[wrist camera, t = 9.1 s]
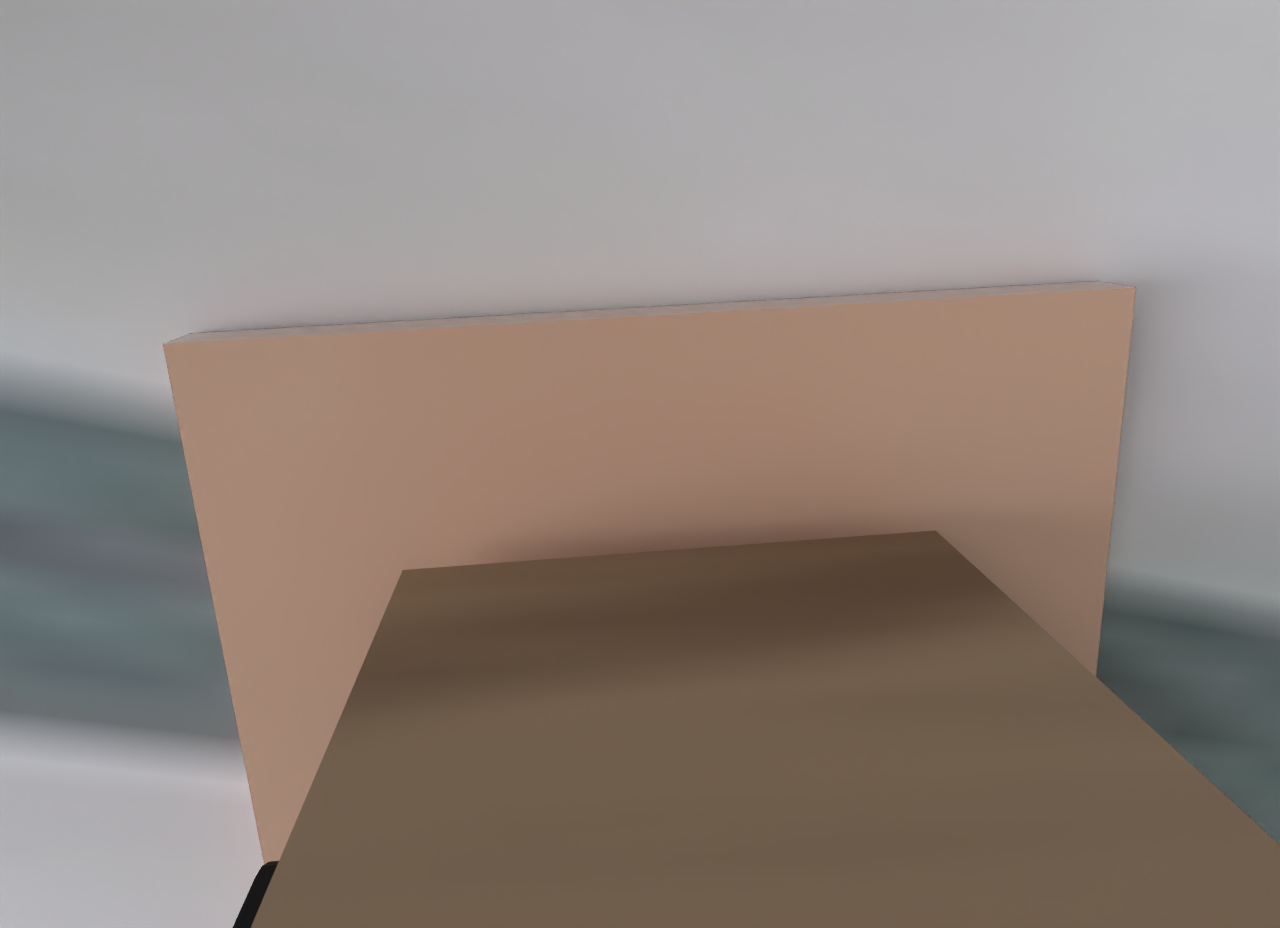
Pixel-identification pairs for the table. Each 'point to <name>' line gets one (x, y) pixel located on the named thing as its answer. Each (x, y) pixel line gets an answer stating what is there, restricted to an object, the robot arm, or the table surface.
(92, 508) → the table surface
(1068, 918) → the walnut block
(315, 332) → the coaster
